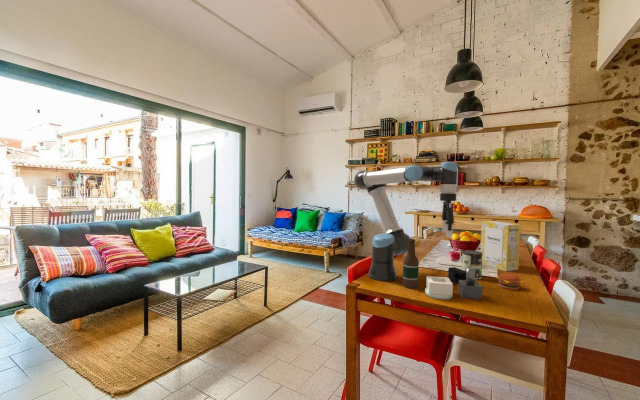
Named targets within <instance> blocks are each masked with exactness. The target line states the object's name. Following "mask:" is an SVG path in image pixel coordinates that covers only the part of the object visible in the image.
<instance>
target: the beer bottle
mask: <svg viewBox="0 0 640 400" xmlns="http://www.w3.org/2000/svg"><path fill="white" fill-rule="evenodd" d="M416 255H417V254H416V239H414V238H411V239H408V252H407V253H406V255H405V257H404V259H403V263H402V264H403V266H402V286H403V287H404V288H406V289H407V288H408V289H417V288H418V286H419V267H420V266H419V259H418V257H417V256H416Z"/></svg>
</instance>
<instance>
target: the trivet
mask: <svg viewBox="0 0 640 400" xmlns="http://www.w3.org/2000/svg"><path fill="white" fill-rule="evenodd" d="M424 294H425V295H426V296H427V297H428V298H431V299H434V300H441V301H442V300H445V301H446V300H451V299H453V297H454V296H453V295H454V294H453V292H452V295H443V294H431V293H429V292H428V290H427V287H425V288H424Z"/></svg>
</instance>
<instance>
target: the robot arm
mask: <svg viewBox="0 0 640 400" xmlns="http://www.w3.org/2000/svg"><path fill="white" fill-rule="evenodd" d="M440 163H441V164H440V165H439V166H427V165H426V166H425V165H417V164H415V165H414V164H413V165H409V166H404V167H398V168H389V169H382V170H360V171H358V172H356V174H355V175H354V177H353V179H354V180H353V181H354V185H355V186H356V187H357V188H358V189H360V190H366V191H367V193H368V195H369V196H370V197H372V199H373V202H374V205H375V208H376V211H377V212H378V216H379V219H380V221H381V223H382V227H383V229H384V231H385V232H384V233H379V234H378V233H377V234H376V235H374V236H373V238H372V242H371V243H372V247H371V249H372V254H371V255H372V257H371V258H372V260H371V265H370V268H369V271H368V277H369V278H371V279H373V280H376V281H381V282H383V281H385V282H389V281H395V280H396V279H397V270H396V267H395V263H394V257H395V256H400V255H401V256H402V255H404V254H407V252H408V239H412V238H411V236H410V235H408V234H407V233H405V230H404V229H403V228H401V227H400V225H399V223H398V220H397V218H396V215H395V213H394V210H393V208H392V205H391V202H390V200H389V198H388V197H389V196H388V195H387V192H386V190H387V185H388V184H396V183H406V182H440V186H439V192H440V194H439V201H440V202H441V201H442V212H441V213H442V214H441V220H442V222H441V233H442V234H445V237H446V238H453V231H454V229H453V226H454V222H455V220H454V203H452V202H456V201H457V194H456V193H457V189H458V188H459V186H457V182H458V172H459V171H458V163H457V162H455V161H443V162H440Z"/></svg>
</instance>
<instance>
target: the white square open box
mask: <svg viewBox="0 0 640 400" xmlns="http://www.w3.org/2000/svg"><path fill="white" fill-rule="evenodd" d="M425 280H426V281H425V286H426V287H427V290H428V292H429V293H431V294H443V295H452V292H453V291H454V290H453V289H454V285H453V284H454V283H453V282H451V281H450V280H449V278H448V276H434V275H433V276H432V275H426V278H425ZM426 287H425V288H426Z"/></svg>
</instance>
